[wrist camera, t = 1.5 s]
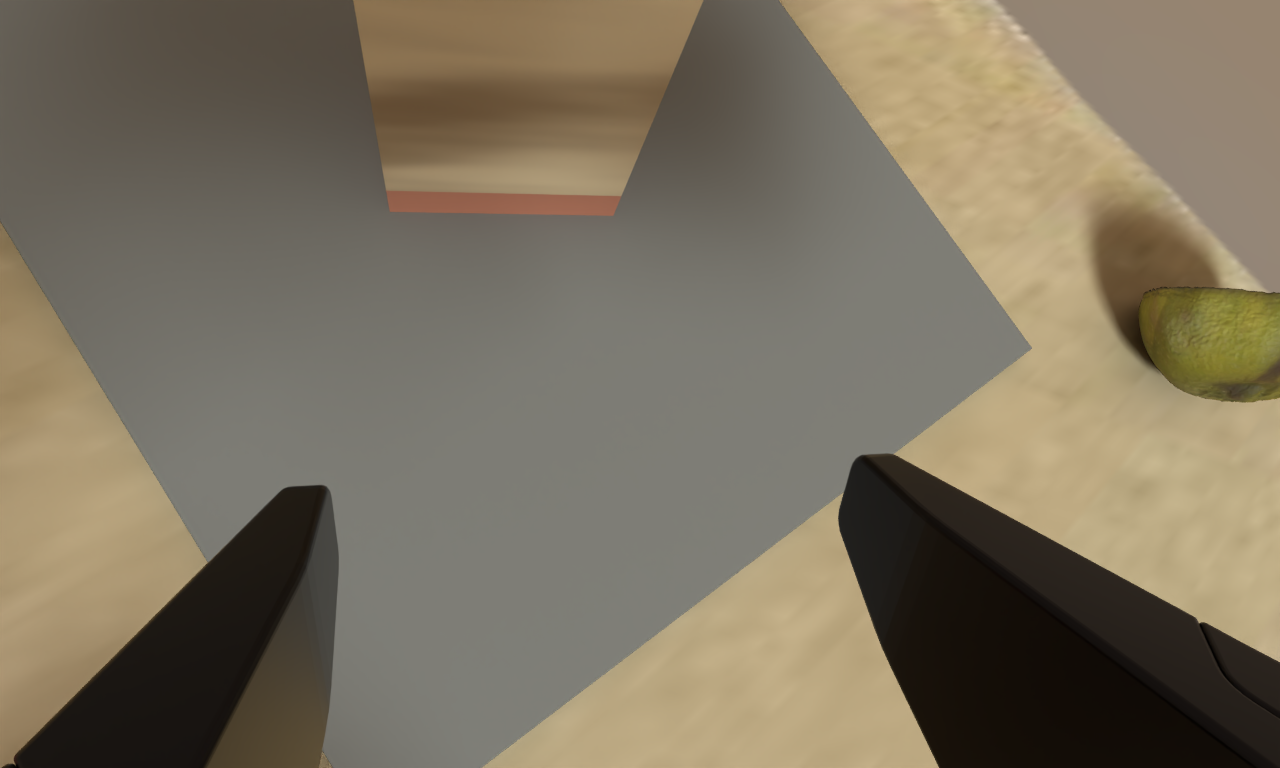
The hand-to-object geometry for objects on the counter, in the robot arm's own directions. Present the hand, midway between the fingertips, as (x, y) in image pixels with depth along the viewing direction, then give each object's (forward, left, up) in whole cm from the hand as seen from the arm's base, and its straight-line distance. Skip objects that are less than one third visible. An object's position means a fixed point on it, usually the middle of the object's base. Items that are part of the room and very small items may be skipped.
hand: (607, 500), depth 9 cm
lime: (-7, -21, -13) cm, 26 cm away
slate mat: (+9, -5, -13) cm, 17 cm away
